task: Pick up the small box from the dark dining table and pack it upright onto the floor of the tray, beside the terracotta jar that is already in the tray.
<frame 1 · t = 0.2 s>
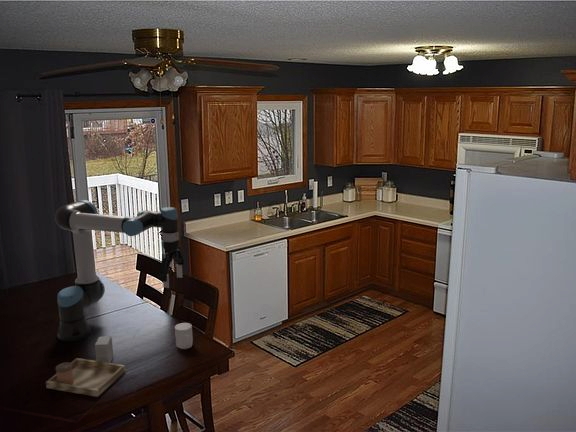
hand: (173, 282, 257), 28 cm above the table, fingers open, 13 cm apart
small box: (105, 361, 239), on the table
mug: (185, 345, 253), on the table
tray: (87, 380, 223), on the table
jar: (66, 383, 220), point 1 cm above the table, touching tray
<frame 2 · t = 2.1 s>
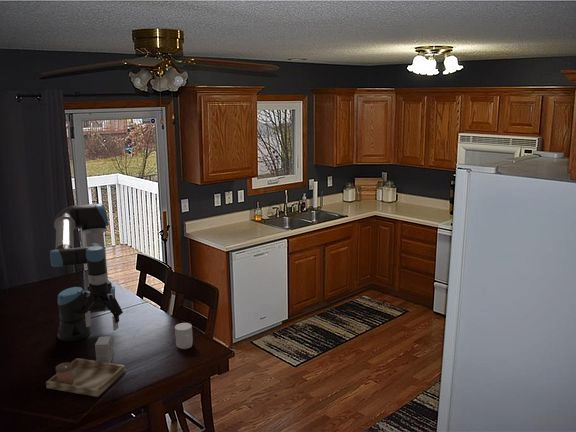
hand: (102, 327, 235), 17 cm above the table, fingers open, 13 cm apart
nothing on the table moved.
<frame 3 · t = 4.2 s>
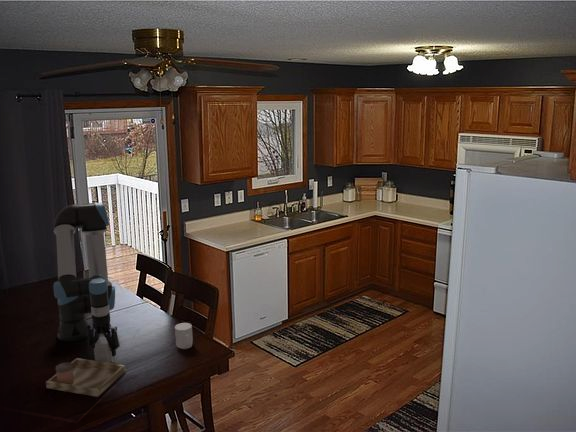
hand: (105, 361, 239), 0 cm above the table, fingers closed on small box, 7 cm apart
small box: (105, 361, 239), on the table, touching gripper
everything else where it was.
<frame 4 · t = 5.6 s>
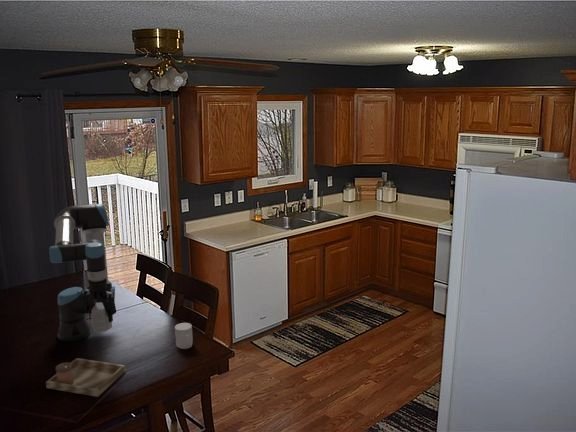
hand: (102, 327, 235), 17 cm above the table, fingers closed on small box, 7 cm apart
small box: (102, 328, 235), point 16 cm above the table, touching gripper
everything else where it was.
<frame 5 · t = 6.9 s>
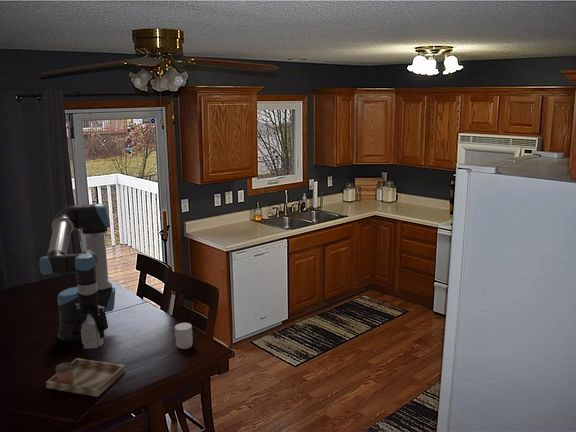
hand: (93, 343, 222), 16 cm above the table, fingers closed on small box, 7 cm apart
small box: (93, 344, 222), point 15 cm above the table, touching gripper
everything else where it was.
when the fingers open (3 cm above the table, at t = 9.4 s): small box drops 2 cm, resting on tray.
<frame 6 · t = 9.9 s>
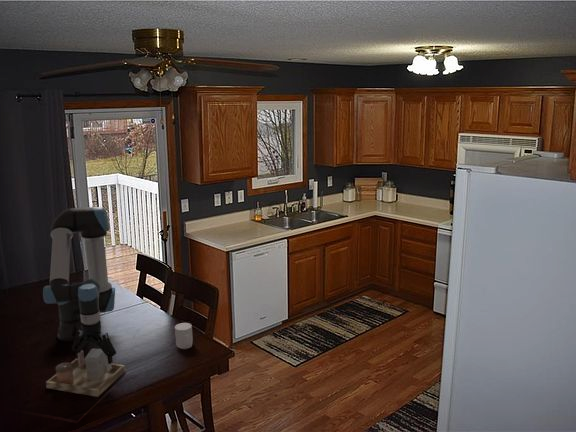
hand: (95, 367, 225), 4 cm above the table, fingers open, 13 cm apart
small box: (97, 375, 226), point 1 cm above the table, touching tray
everything else where it was.
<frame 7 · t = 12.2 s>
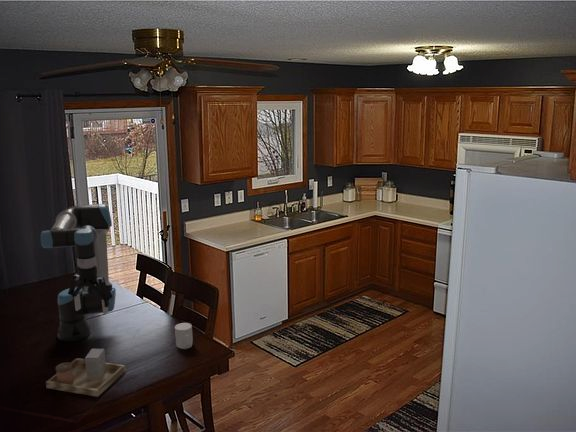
hand: (91, 311, 231), 25 cm above the table, fingers open, 13 cm apart
nothing on the table moved.
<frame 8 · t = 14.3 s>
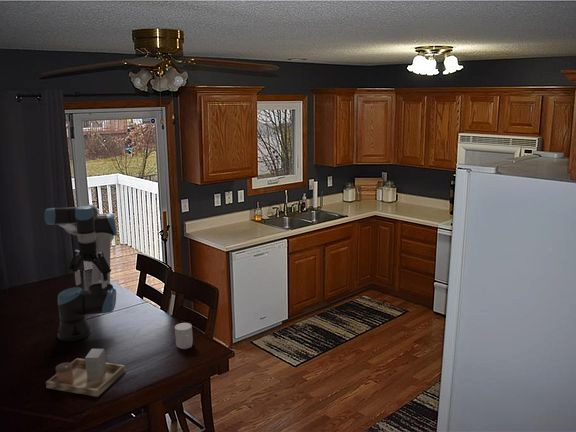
hand: (91, 285, 242), 32 cm above the table, fingers open, 13 cm apart
nothing on the table moved.
at the end: small box inside the target area on the tray (4.3 cm from its centre), point 0.6 cm above the tray's base; small box tilted 0°; jar moved 0.2 cm from its start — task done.
